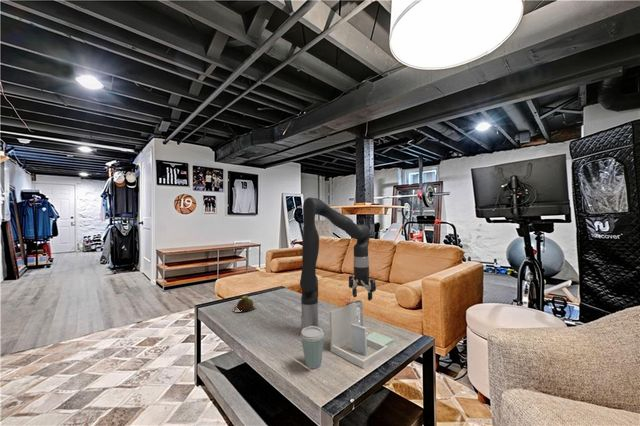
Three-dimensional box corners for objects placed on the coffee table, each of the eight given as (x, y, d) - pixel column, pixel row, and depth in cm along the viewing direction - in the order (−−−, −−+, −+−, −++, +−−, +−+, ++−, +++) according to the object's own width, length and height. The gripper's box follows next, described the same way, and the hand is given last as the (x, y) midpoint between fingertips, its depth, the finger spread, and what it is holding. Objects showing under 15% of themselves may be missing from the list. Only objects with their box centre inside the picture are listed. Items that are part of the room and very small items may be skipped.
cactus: (249, 303, 199) (249, 291, 199) (261, 308, 188) (261, 295, 188) (228, 310, 187) (227, 296, 187) (239, 315, 176) (238, 301, 176)
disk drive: (349, 331, 147) (348, 304, 147) (346, 329, 149) (345, 303, 149) (363, 326, 152) (362, 300, 153) (360, 324, 155) (359, 299, 155)
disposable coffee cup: (330, 366, 113) (329, 331, 113) (309, 375, 107) (308, 338, 107) (316, 355, 122) (315, 323, 122) (296, 363, 116) (295, 329, 116)
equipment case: (363, 368, 111) (362, 323, 111) (330, 351, 126) (329, 311, 126) (389, 352, 123) (388, 311, 123) (356, 338, 138) (355, 302, 138)
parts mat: (382, 349, 126) (382, 346, 126) (362, 340, 135) (362, 337, 135) (394, 342, 133) (393, 339, 133) (374, 334, 142) (374, 331, 142)
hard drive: (365, 355, 121) (364, 328, 121) (351, 350, 126) (350, 324, 126) (367, 354, 122) (366, 327, 122) (353, 348, 127) (352, 323, 128)
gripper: (378, 265, 127) (379, 299, 127) (353, 262, 136) (354, 294, 136) (369, 268, 121) (370, 303, 121) (345, 265, 131) (345, 297, 131)
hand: (362, 298), depth 129 cm, fingers open, 8 cm apart
